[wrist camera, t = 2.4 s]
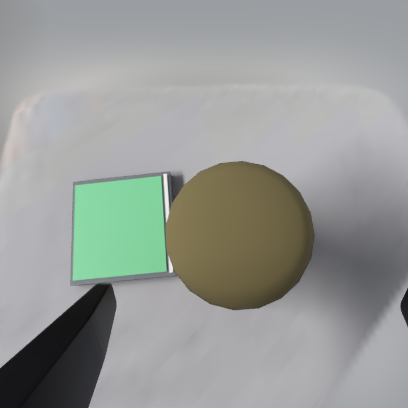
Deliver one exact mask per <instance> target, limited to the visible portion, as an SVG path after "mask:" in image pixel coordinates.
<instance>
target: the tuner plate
mask: <svg viewBox="0 0 408 408" xmlns="http://www.w3.org/2000/svg"><path fill="white" fill-rule="evenodd" d="M172 203H173V192H172V178H171V174H170V172H161V173H152V174H143V175H134V176H124V177H115V178H106V179H97V180H88V181H79V182H73V209H72V246H71V282H70V286H74V285H85V284H95V283H106V282H116V281H126V280H136V279H146V278H157V277H167V276H177V274H176V273H175V272H174V269H173V266H172V264H171V261H170V258H169V256H168V253H167V250H166V231H165V227H166V223H167V219H168V216H169V212H170V208H171V205H172Z"/></svg>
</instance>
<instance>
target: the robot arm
mask: <svg viewBox="0 0 408 408" xmlns="http://www.w3.org/2000/svg"><path fill="white" fill-rule="evenodd" d="M401 311H402V314H403V316H404V319H405V321H406V323H407V326H408V288H407V291H406V293H405V295H404V297H403V299H402V301H401ZM115 312H116V299H115V295H114V291H113V287H112V285H111V284H109V283H99V284H96V285H95V286H94V287H93V288H91V289H90V290H89V291H88V292H87V293H86V294H85V295H83V296H82V297H81V298H80V299H79V300H78V301H77V302H75V303H74V304H73V305H72V306H71V307H70V308H69V309H67V310H66V311H65V312H64V313H63V314H62V315H61V316H59V317H58V318H57V319H56V320H55V321H54V322H53V323H51V324H50V325H49V326H48V327H47V328H46V329H45V330H43V331H42V332H41V333H40V334H39V335H38V336H37V337H35V338H34V339H33V340H32V341H31V342H30V343H29V344H27V345H26V346H25V347H24V348H23V349H22V350H21V351H19V352H18V353H17V354H16V355H15V356H14V357H13V358H11V359H10V360H9V361H8V362H7V363H6V364H5V365H3V366H2V367H1V368H0V408H88V407H89V404H90V401H91V398H92V395H93V392H94V389H95V386H96V383H97V380H98V377H99V375H100V372H101V369H102V366H103V362H104V359H105V355H106V351H107V347H108V343H109V338H110V334H111V329H112V325H113V320H114V316H115Z"/></svg>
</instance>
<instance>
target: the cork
mask: <svg viewBox="0 0 408 408" xmlns="http://www.w3.org/2000/svg"><path fill="white" fill-rule="evenodd" d="M165 231H166V250H167V253H168V256H169V258H170V261H171V264H172V266H173V269H174V272H175V273H176V274H177V275H178V277H179V278H180V279H181V280H182V282H183V283H184V284H185V286H186V287H187V288H188V289H189V291H191V292H193V293H194V294H196V295H197V296H199V297H200V298H202V299H203V300H205V301H206V302H208V303H209V304H212V305H216V306H220V307H224V308H228V309H232V310H242V309H255V308H260V307H263V306H265V305H267V304H269V303H272V302H274V301H276V300H279V299H281V298H282V297H283V296H284V295H285V294H286V293H287V292H288V291H290V290H291V289H292V288H293V287H294V286H295V285H296V284H297V283H298V282H299V280H300V278H301V277H302V275H303V273H304V271H305V269H306V267H307V265H308V263H309V261H310V259H311V255H312V248H313V241H314V230H313V224H312V219H311V213H310V211H309V209H308V207H307V205H306V203H305V201H304V199H303V197H302V196H301V194H300V192H299V191H298V190H297V189H296V188H295V187H294V186H293V185H292V184H291V183H290V182H289V181H288V180H287V179H286V178H285V177H284V176H283V175H281V174H279V173H277V172H275V171H273V170H271V169H269V168H268V167H266V166H264V165H259V164H254V163H249V162H244V161H239V162H228V163H220V164H217V165H215V166H213V167H210V168H208V169H205V170H203V171H200V172H199V173H198V174H197V175H196V176H194V177H193V178H192V179H191V180H189V181H188V182H187V183H186V184H185V185H184V186H183V187H182V189H181V190H180V192H179V193H178V195H177V196H176V198H175V199H174V201H173V203H172V205H171V208H170V212H169V216H168V219H167V223H166V227H165Z"/></svg>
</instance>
